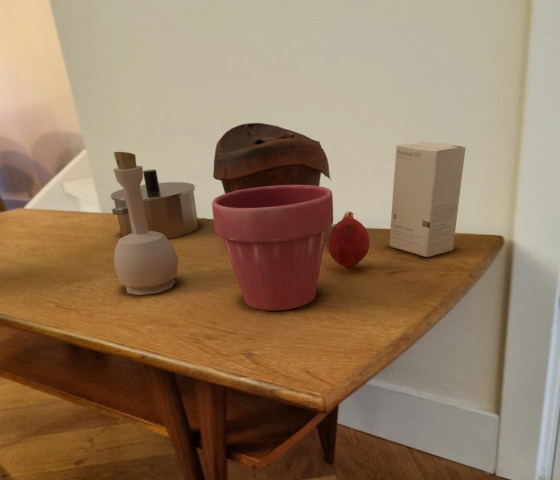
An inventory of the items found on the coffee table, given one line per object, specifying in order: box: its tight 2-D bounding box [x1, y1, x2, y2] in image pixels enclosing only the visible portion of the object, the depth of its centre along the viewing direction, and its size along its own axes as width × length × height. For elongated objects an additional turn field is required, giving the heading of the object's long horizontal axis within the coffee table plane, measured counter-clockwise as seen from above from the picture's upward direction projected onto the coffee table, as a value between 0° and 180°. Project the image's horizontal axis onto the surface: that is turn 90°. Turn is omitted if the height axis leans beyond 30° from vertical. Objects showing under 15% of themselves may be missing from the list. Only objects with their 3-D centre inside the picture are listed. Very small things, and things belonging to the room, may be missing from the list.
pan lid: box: [110, 169, 196, 202], centre depth 102 cm, size 16×16×5 cm
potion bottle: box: [112, 151, 179, 296], centre depth 74 cm, size 9×9×18 cm
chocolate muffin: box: [212, 122, 332, 194], centre depth 90 cm, size 18×20×18 cm
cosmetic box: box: [389, 141, 466, 258], centre depth 80 cm, size 8×6×15 cm
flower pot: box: [211, 185, 334, 311], centre depth 67 cm, size 14×14×13 cm
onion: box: [327, 210, 371, 270], centre depth 76 cm, size 6×6×8 cm
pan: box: [111, 190, 199, 240], centre depth 105 cm, size 15×20×7 cm
